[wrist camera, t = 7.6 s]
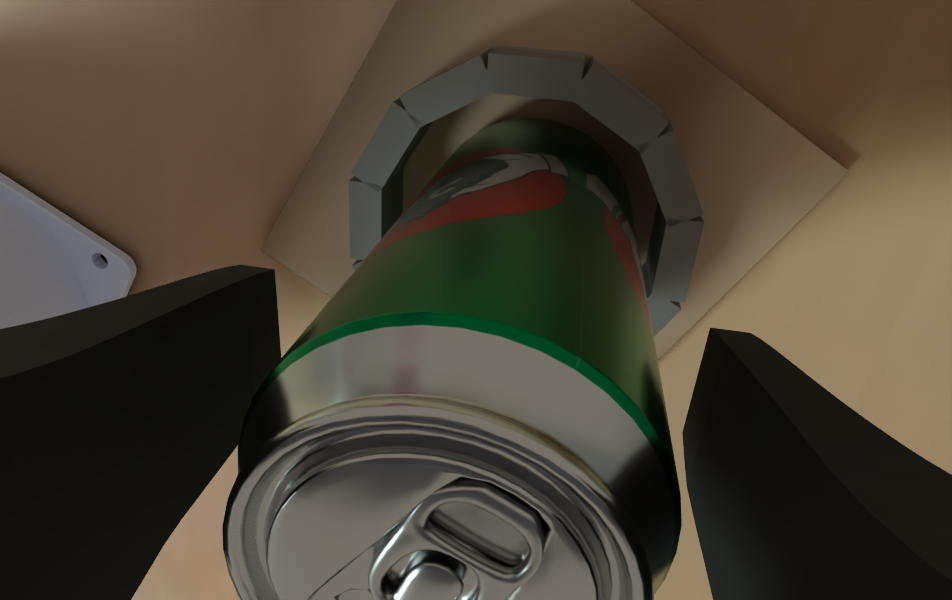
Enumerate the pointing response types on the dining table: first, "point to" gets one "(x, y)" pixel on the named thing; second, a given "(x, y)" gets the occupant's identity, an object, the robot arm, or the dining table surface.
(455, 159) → the soda can
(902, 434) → the dining table surface
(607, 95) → the can socket
